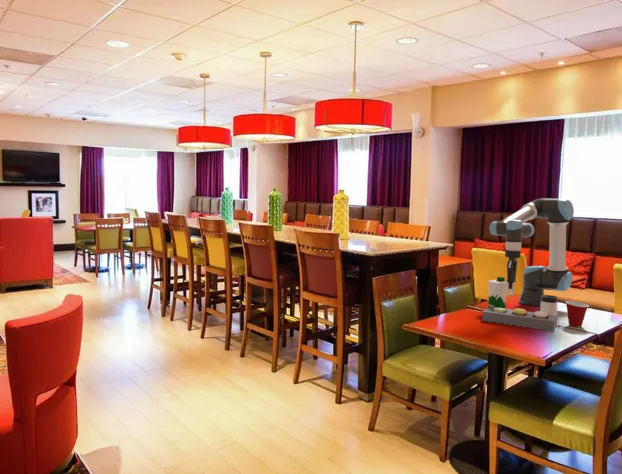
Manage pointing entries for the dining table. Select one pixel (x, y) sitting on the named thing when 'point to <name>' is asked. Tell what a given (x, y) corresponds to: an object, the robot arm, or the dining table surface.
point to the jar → (549, 304)
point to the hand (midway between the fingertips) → (510, 294)
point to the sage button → (500, 310)
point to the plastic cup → (576, 313)
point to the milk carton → (497, 293)
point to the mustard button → (520, 311)
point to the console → (520, 319)
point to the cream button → (540, 314)
